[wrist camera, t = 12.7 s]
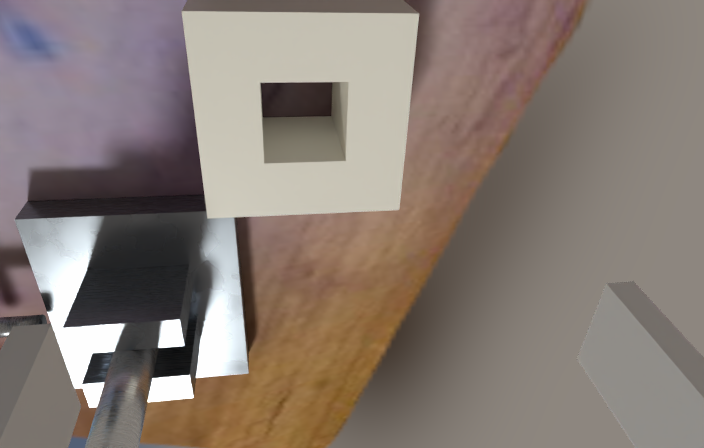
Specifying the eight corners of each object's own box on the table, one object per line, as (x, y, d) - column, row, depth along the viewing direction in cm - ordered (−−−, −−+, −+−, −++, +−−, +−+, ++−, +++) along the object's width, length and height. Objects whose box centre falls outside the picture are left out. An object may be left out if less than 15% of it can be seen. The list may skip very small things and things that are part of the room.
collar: (195, -15, 27) (181, 11, 22) (390, -11, 28) (419, 13, 23) (214, 165, 32) (207, 218, 27) (377, 160, 34) (399, 210, 29)
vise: (-57, 204, 31) (-265, 425, 19) (234, 193, 34) (222, 381, 21) (15, 372, 39) (-99, 608, 26) (248, 353, 41) (246, 561, 29)
